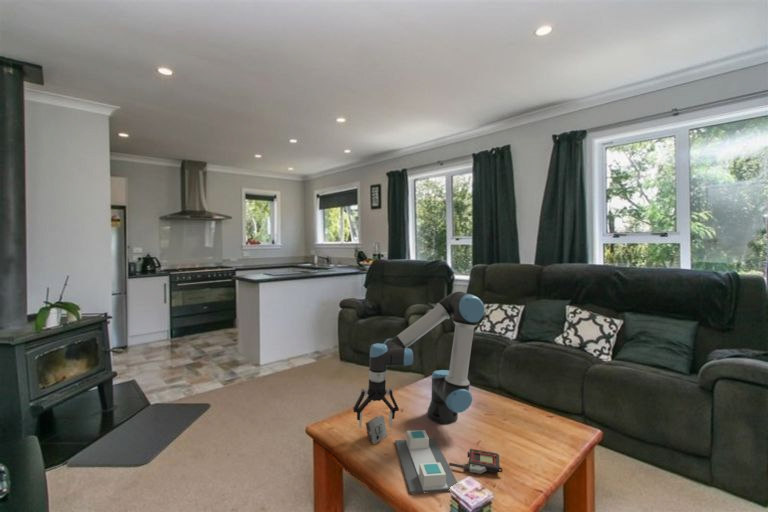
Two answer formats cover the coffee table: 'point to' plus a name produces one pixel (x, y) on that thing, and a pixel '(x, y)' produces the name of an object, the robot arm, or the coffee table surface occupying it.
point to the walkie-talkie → (481, 462)
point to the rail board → (412, 470)
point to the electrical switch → (376, 429)
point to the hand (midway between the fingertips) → (375, 426)
